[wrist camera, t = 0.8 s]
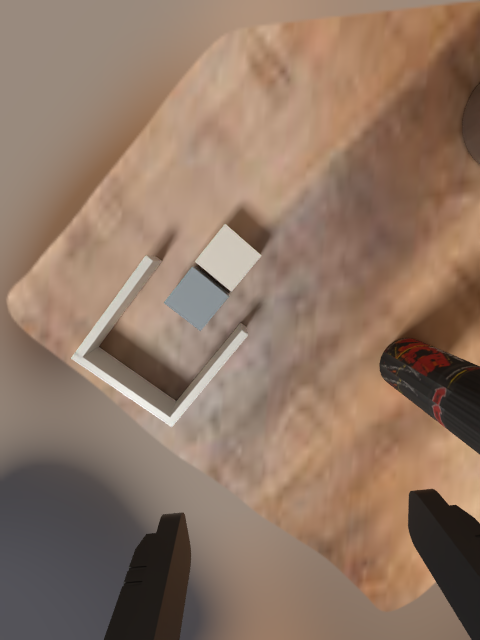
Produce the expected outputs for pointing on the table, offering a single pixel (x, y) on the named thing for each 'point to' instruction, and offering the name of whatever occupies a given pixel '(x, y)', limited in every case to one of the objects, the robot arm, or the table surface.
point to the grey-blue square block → (197, 298)
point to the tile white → (228, 258)
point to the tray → (130, 380)
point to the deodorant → (437, 385)
